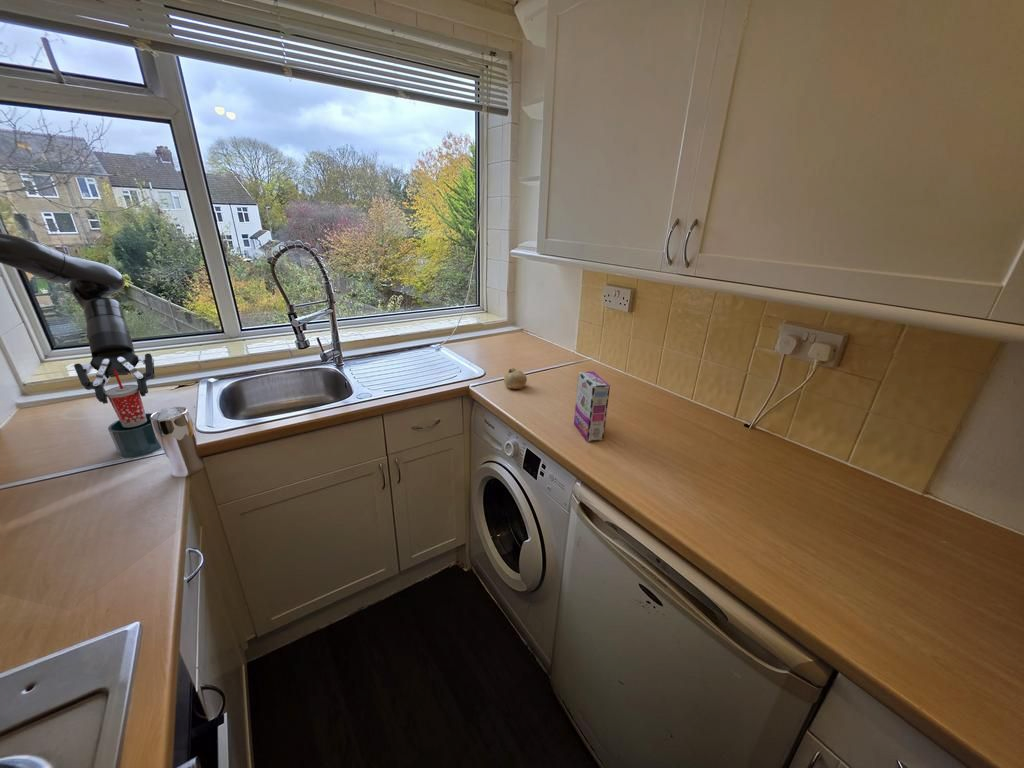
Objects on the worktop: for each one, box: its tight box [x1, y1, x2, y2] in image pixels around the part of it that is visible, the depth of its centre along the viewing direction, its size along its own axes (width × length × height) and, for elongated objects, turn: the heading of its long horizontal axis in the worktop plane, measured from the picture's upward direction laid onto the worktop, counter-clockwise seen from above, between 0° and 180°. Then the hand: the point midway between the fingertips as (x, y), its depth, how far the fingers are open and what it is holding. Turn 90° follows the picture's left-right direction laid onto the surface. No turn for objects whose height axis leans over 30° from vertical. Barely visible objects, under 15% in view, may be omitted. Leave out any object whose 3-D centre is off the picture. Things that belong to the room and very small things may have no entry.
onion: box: [503, 367, 528, 390], centre depth 142 cm, size 8×8×7 cm
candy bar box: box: [573, 371, 611, 443], centre depth 111 cm, size 11×5×16 cm, turn 12°
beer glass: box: [150, 406, 205, 478], centre depth 92 cm, size 7×7×15 cm
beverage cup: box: [105, 369, 147, 427], centre depth 97 cm, size 6×6×14 cm
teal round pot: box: [107, 412, 162, 458], centre depth 101 cm, size 10×10×8 cm
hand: (123, 398), depth 95 cm, fingers closed on beverage cup, 6 cm apart
